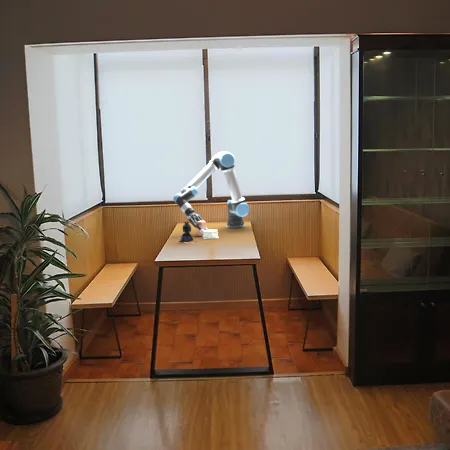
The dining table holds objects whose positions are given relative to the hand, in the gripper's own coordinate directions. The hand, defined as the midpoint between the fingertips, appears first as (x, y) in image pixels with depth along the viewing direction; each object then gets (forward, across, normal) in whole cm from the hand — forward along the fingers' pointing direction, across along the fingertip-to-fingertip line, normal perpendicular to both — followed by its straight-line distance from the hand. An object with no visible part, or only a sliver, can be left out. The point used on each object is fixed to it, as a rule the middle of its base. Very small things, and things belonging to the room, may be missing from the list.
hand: (205, 232), depth 411 cm
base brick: (+7, +4, +3) cm, 9 cm away
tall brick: (0, 0, -5) cm, 5 cm away
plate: (+8, +4, +3) cm, 10 cm away
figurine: (+1, +20, -5) cm, 20 cm away
